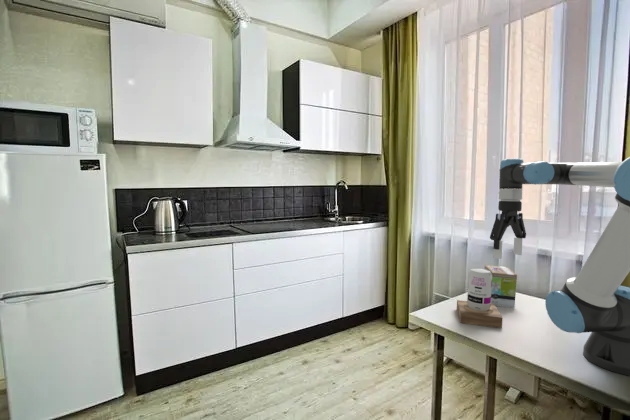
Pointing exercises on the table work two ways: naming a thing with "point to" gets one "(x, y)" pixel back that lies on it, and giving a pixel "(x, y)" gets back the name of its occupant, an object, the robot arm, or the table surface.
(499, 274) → the tea box
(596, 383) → the table surface
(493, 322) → the walnut base
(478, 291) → the supplement can
